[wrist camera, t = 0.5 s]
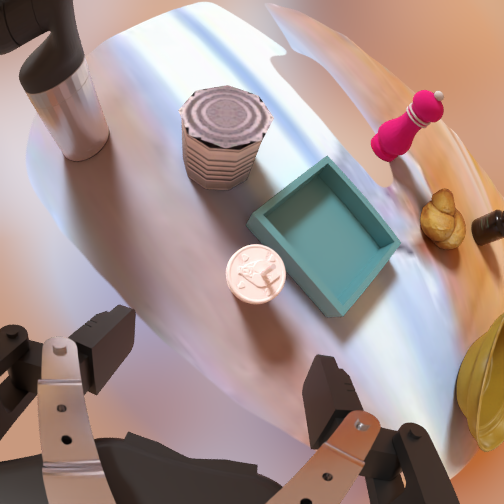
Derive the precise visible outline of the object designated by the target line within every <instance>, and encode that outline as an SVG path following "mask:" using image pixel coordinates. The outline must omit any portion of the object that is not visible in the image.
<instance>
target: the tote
mask: <svg viewBox="0 0 504 504" xmlns="http://www.w3.org/2000/svg"><path fill="white" fill-rule="evenodd" d="M246 226H247V228H248V229H249V230H250V231H251V232H252V233H253V234H254V235H255V237H256V238H257V239H258V240H259V241H260V242H261V243H262V244H263V245H264V246H267V247H269V248H271V249H272V250H274V251H275V252H276V253H277V254H278V255H279V256H280V258H281V259H282V261H283V263H284V266H285V270H286V272H287V273H288V274H289V275H290V276H291V277H292V278H293V280H294V281H295V282H296V283H297V284H298V285H299V286H300V287H301V289H302V290H303V291H304V292H305V293H306V294H307V295H308V297H309V298H310V299H311V300H312V301H313V302H314V304H315V305H316V306H317V307H318V308H319V309H320V310H321V312H322V313H323V314H324V315H325V316H326V317H343V316H344V315H345V313H346V312H347V311H348V310H349V309H350V308H351V306H352V305H353V304H354V303H355V302H356V301H357V299H358V298H359V297H360V296H361V294H362V293H363V292H364V291H365V290H366V288H367V287H368V286H369V285H370V283H371V282H372V281H373V280H374V278H375V277H376V276H377V274H378V273H379V272H380V271H381V269H382V268H383V267H384V265H385V264H386V263H387V261H388V260H389V259H390V257H391V256H392V255H393V253H394V252H395V251H396V249H397V248H398V246H399V245H400V244H401V242H400V241H399V239H398V238H397V237H396V235H395V234H394V233H393V231H392V230H391V229H390V227H389V226H388V225H387V224H386V222H385V221H384V220H383V219H382V217H381V216H380V215H379V214H378V212H377V211H376V210H375V209H374V207H373V206H372V205H371V204H370V203H369V201H368V200H367V199H366V198H365V197H364V196H363V194H362V193H361V192H360V191H359V190H358V189H357V187H356V186H355V185H354V184H353V183H352V182H351V181H350V180H349V178H348V177H347V176H346V175H345V174H344V173H343V172H342V171H341V170H340V169H339V168H338V166H337V165H336V164H335V163H334V162H333V161H332V160H331V159H330V158H329V157H328V156H326V157H325V158H323V159H322V160H321V161H319V162H318V163H317V164H315V165H314V166H313V167H311V168H310V169H309V170H307V171H306V172H305V173H303V174H302V175H301V176H300V177H298V178H297V179H296V180H294V181H293V182H292V183H290V184H289V185H288V186H287V187H285V188H284V189H283V190H281V191H280V192H279V193H277V194H276V195H275V196H274V197H272V198H271V199H270V200H269V201H267V202H266V203H265V204H263V205H262V206H261V207H260V208H258V209H257V210H256V211H255V212H253V213H252V215H251V217H250V219H249V220H248V222H247V224H246Z"/></svg>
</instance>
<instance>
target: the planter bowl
mask: <svg viewBox="0 0 504 504" xmlns="http://www.w3.org/2000/svg"><path fill="white" fill-rule="evenodd" d="M457 401H458V405H459V407H460V409H461V411H462V412H463V414H464V415H465V417H466V418H467V421H468V427H469V430H470V433H471V434H472V436H473V437H474V438H475V440H476V441H477V443H478V446H479V448H480V449H481V450H482V451H484V452H489V451H492V450H494V449H495V448H497V447H498V446H499V445H500V444H501V443H502V442H503V441H504V313H503V314H502V315H500V316H499V317H498V318H497V319H496V320H495V322H494V323H493V324H492V326H491V327H490V329H489V331H488V332H486V333H485V334H484V335H482V336H481V337H480V338H479V339H478V340H476V341H475V342H474V343H473V344H472V346H471V347H470V348H469V350H468V352H467V353H466V355H465V357H464V359H463V362H462V364H461V367H460V370H459V374H458V378H457Z"/></svg>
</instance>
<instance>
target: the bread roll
mask: <svg viewBox="0 0 504 504" xmlns="http://www.w3.org/2000/svg"><path fill="white" fill-rule="evenodd" d="M420 223H421V227H422V230H423V232H424V233H425V234H426V236H427V237H429V238H430V239H431V240H432V241H433V242H434V243H435V244H436V245H437V246H438V247H439V248H441V249H446V250H450V249H454V248H456V247H458V246H459V245H460V244H461V243H462V241H463V240H464V238H465V234H466V225H465V221H464V219H463V217H462V215H461V213H460V212H459V211H458V210H457V209H456V208H455V203H454V197H453V194H452V193H451V191H449V190H448V189H441V190H439V191H438V192H436V193H435V194H433V196H432V201H430V202H428V203H427V204H426V205H425V206H424V207H423V209H422V213H421V218H420Z"/></svg>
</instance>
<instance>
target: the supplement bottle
mask: <svg viewBox="0 0 504 504" xmlns="http://www.w3.org/2000/svg"><path fill="white" fill-rule="evenodd" d="M472 234H473V237H474V239H475V241H476V243H477V244H479V245H485V244H488V243H491V242H494V241H496V240H499V239H502V238H504V211H503V212H502V211H500V210H495V211H493V212H491V213H488V214H486V215H484V216H482V217H480V218H477V219H475V220H474V221H473V222H472Z"/></svg>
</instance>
